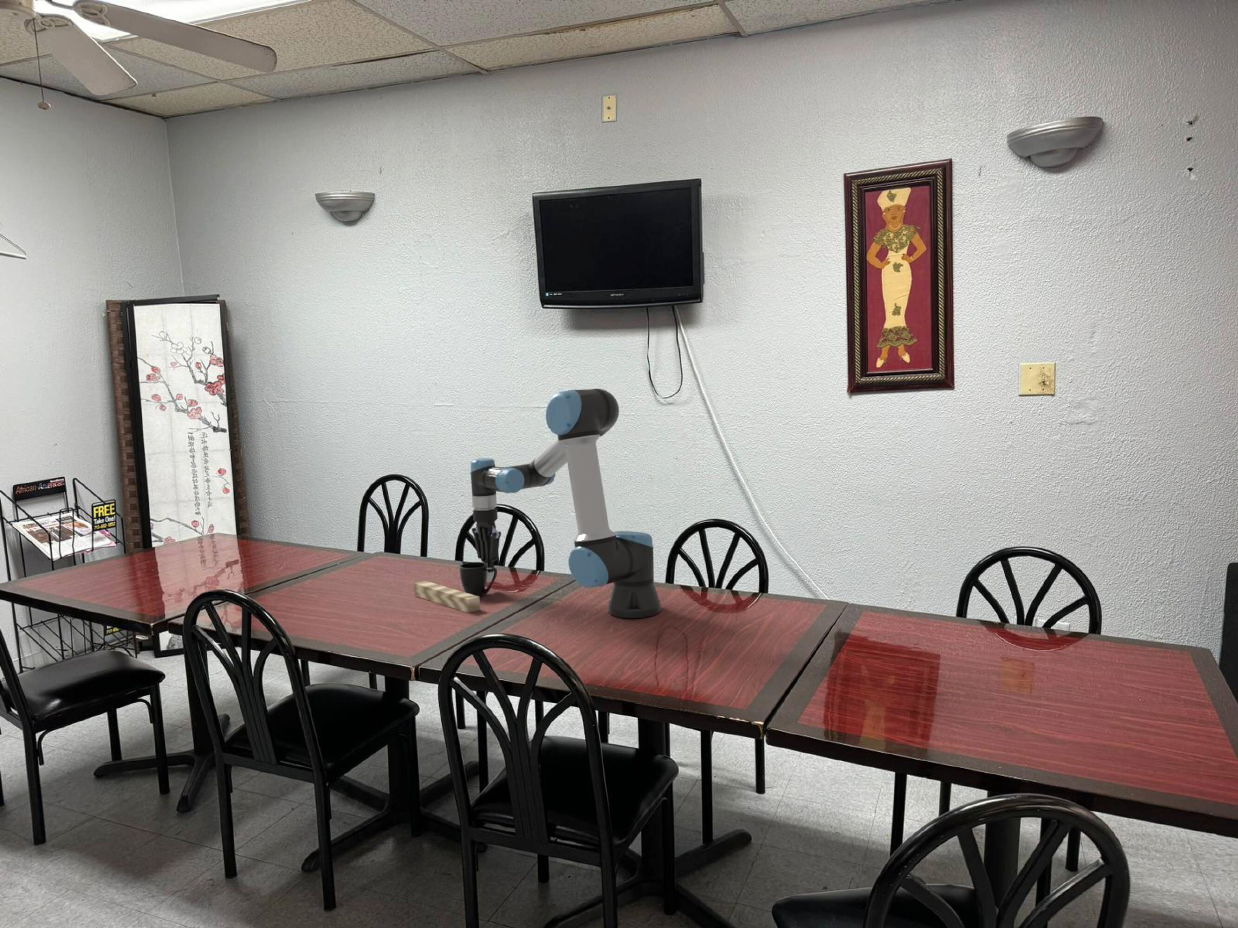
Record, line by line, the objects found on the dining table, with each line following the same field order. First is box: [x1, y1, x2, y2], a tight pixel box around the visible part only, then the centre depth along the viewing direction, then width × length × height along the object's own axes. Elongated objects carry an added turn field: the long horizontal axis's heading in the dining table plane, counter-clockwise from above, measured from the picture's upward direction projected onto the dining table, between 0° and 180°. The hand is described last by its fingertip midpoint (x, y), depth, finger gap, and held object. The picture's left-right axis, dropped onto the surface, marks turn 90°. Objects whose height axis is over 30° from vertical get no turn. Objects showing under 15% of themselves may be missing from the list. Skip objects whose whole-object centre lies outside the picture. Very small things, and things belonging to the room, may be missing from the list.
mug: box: [459, 561, 498, 597], centre depth 274 cm, size 8×12×10 cm
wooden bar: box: [413, 580, 481, 614], centre depth 268 cm, size 30×4×4 cm, turn 43°
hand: (489, 581), depth 279 cm, fingers closed, pressing on mug
